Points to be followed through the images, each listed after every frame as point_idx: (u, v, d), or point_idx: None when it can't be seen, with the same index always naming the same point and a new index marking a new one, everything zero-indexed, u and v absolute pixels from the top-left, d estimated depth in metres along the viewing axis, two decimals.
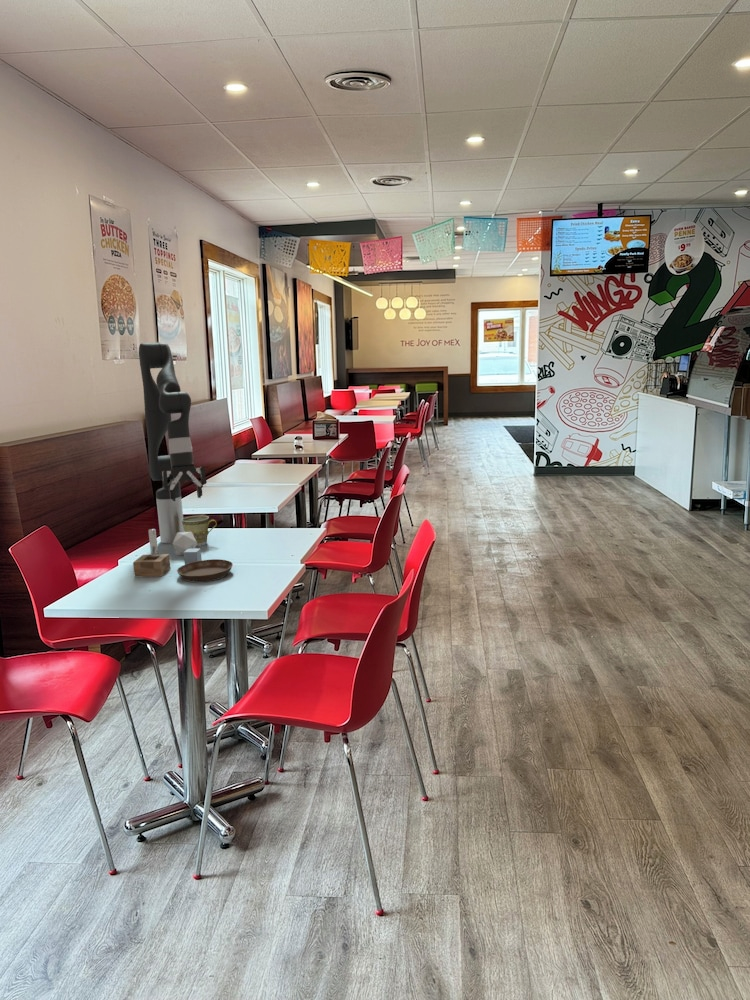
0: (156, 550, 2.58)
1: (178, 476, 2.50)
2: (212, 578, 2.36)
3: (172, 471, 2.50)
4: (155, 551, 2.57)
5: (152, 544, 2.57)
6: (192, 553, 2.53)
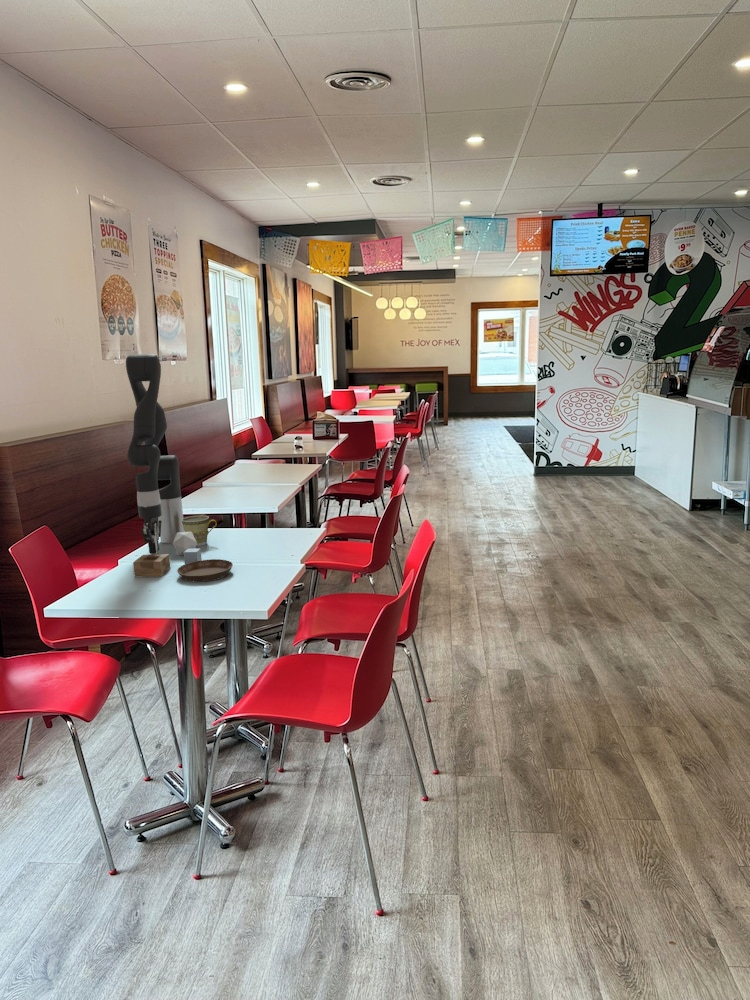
0: (156, 550, 2.58)
1: (155, 528, 2.55)
2: (212, 578, 2.36)
3: (150, 524, 2.52)
4: None
5: None
6: (192, 553, 2.53)
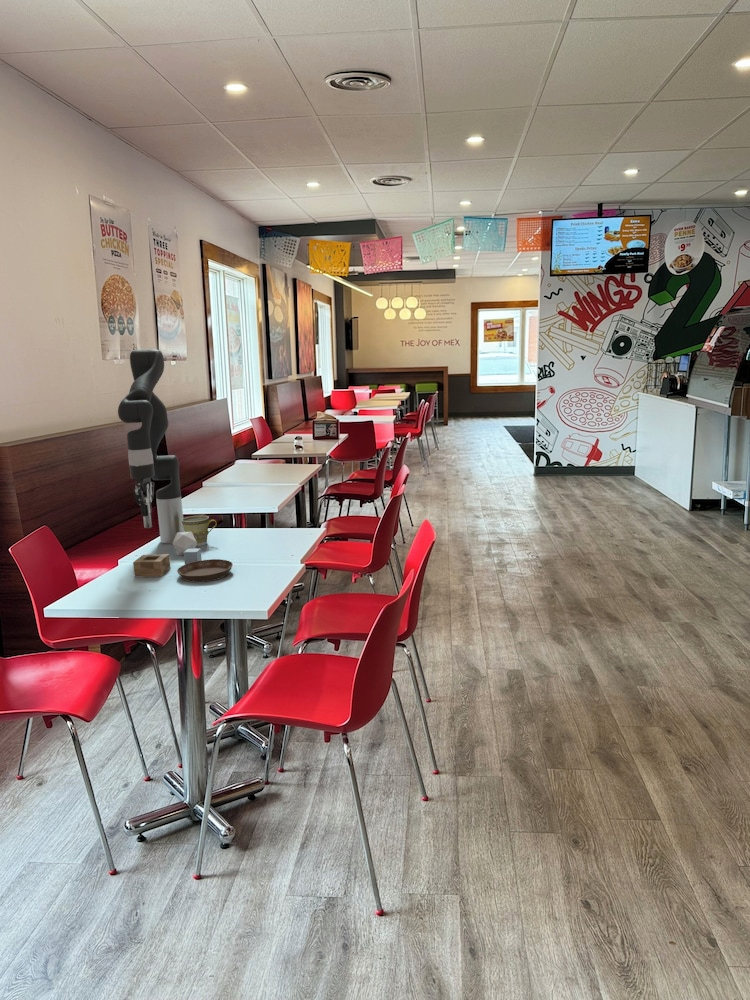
0: (149, 513, 2.44)
1: (147, 489, 2.41)
2: (212, 578, 2.36)
3: (142, 485, 2.38)
4: None
5: None
6: (192, 553, 2.53)
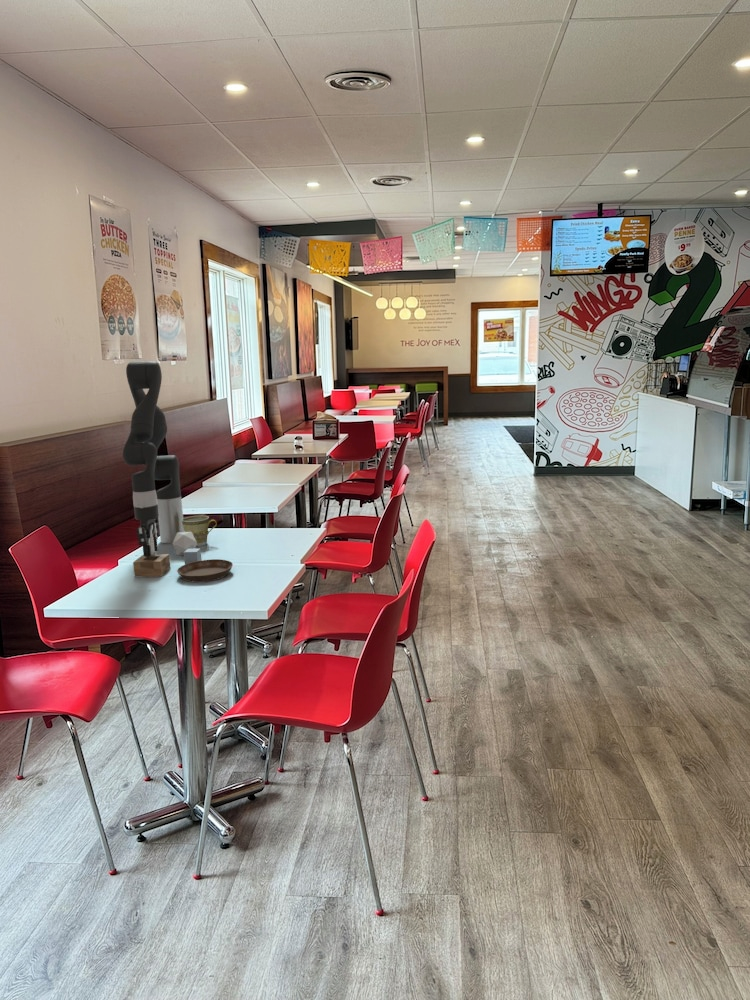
0: (153, 555, 2.47)
1: (151, 530, 2.43)
2: (212, 578, 2.36)
3: (146, 525, 2.41)
4: (152, 556, 2.46)
5: None
6: (192, 553, 2.53)
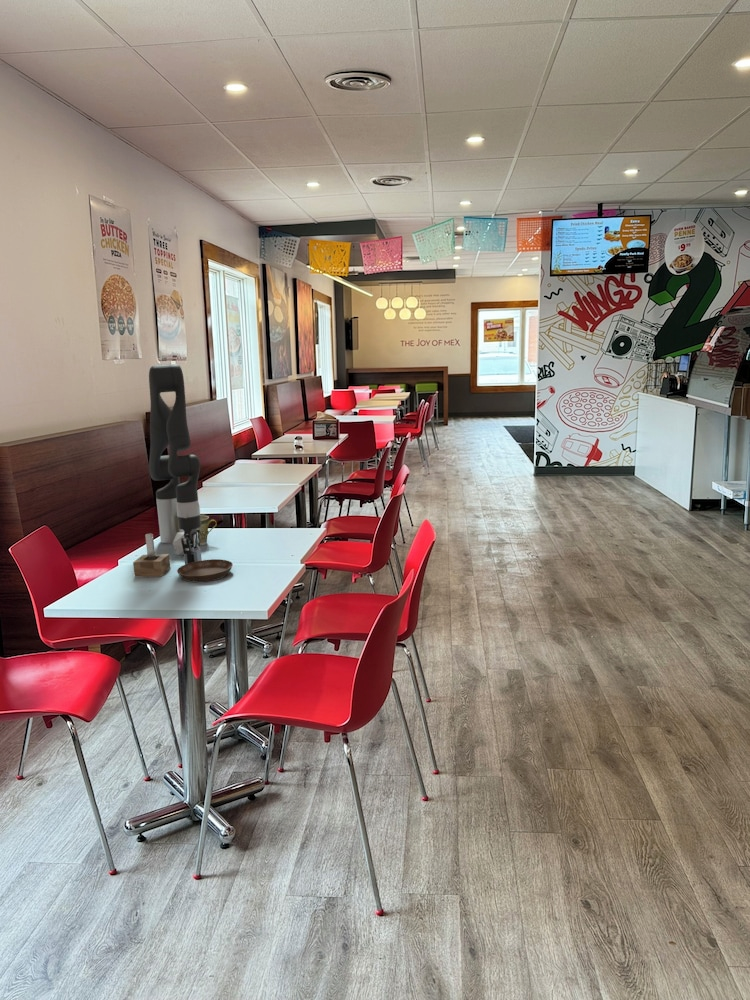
0: (153, 556, 2.47)
1: (194, 539, 2.53)
2: (212, 578, 2.36)
3: (190, 535, 2.50)
4: (152, 557, 2.46)
5: (149, 550, 2.46)
6: None
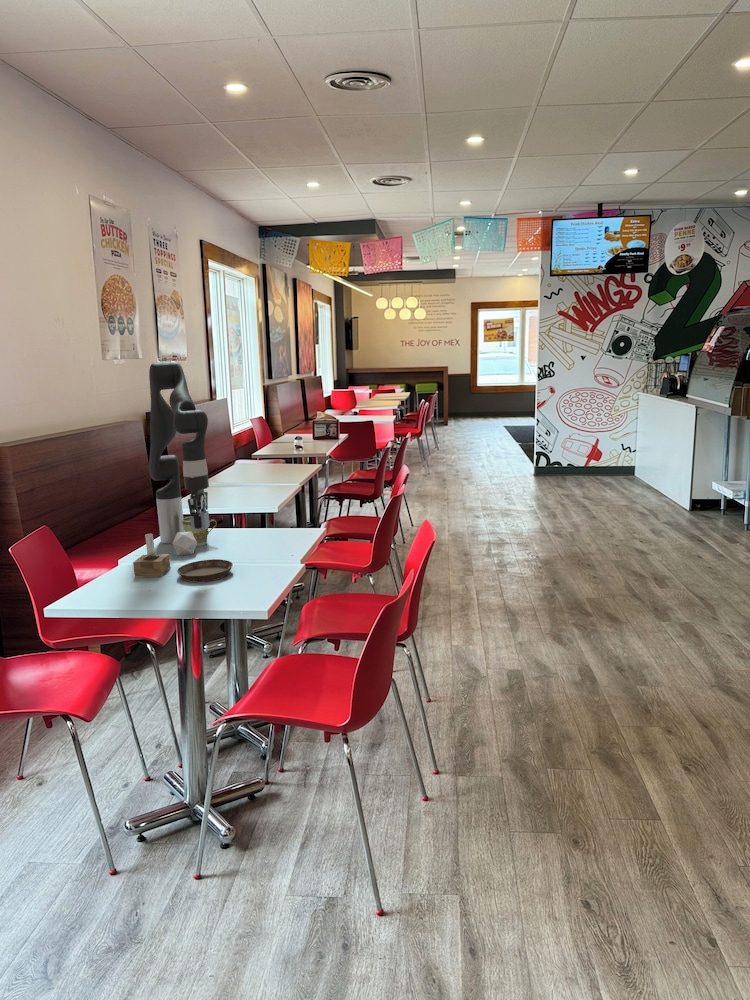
0: (153, 556, 2.47)
1: (201, 500, 2.37)
2: (212, 578, 2.36)
3: (197, 496, 2.34)
4: (152, 557, 2.46)
5: (149, 550, 2.46)
6: None
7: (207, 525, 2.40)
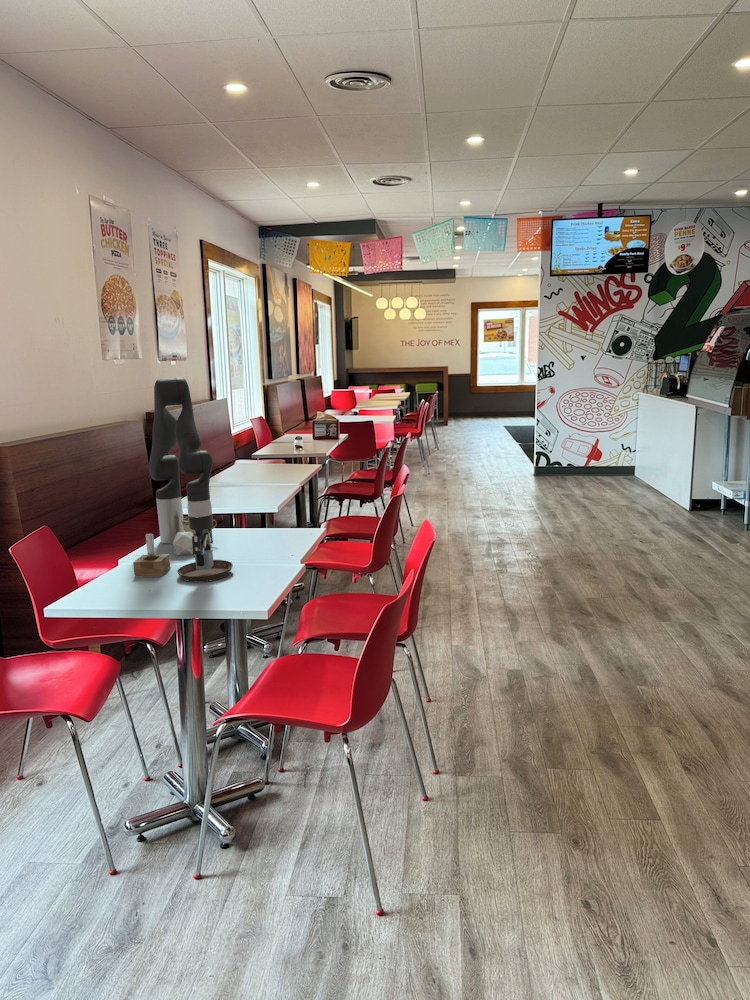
0: (153, 556, 2.47)
1: (205, 539, 2.38)
2: (212, 578, 2.36)
3: (201, 535, 2.37)
4: (152, 557, 2.46)
5: (149, 550, 2.46)
6: (204, 555, 2.39)
7: (211, 564, 2.42)
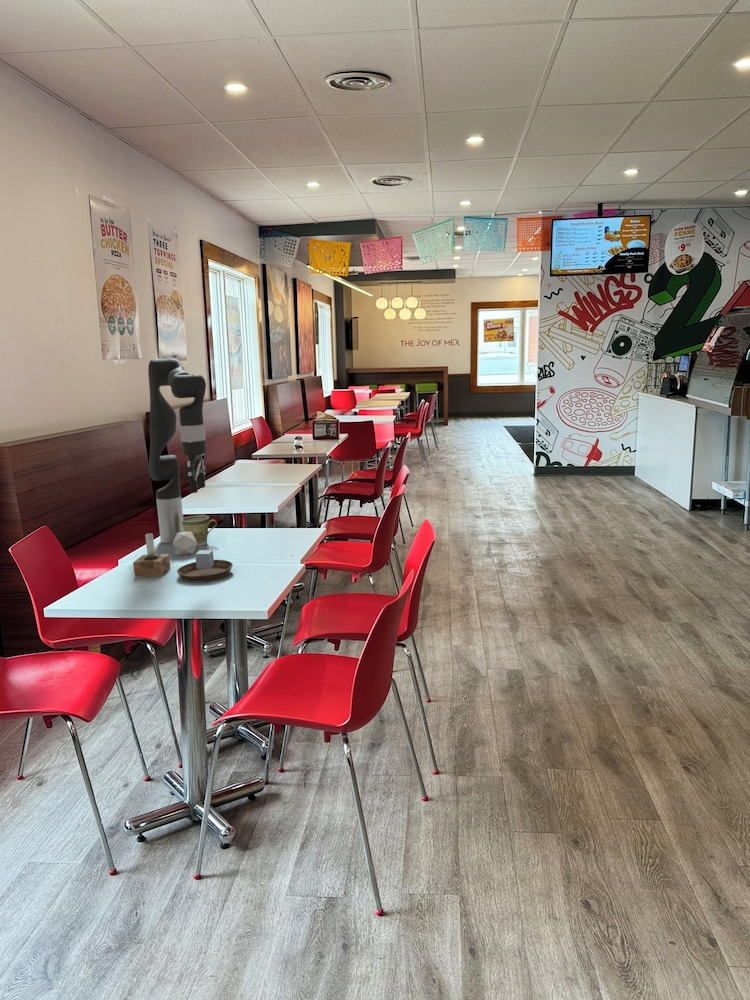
0: (153, 555, 2.47)
1: (199, 465, 2.34)
2: (212, 578, 2.36)
3: (194, 460, 2.32)
4: (152, 556, 2.47)
5: (149, 550, 2.46)
6: (204, 555, 2.40)
7: (212, 564, 2.42)
